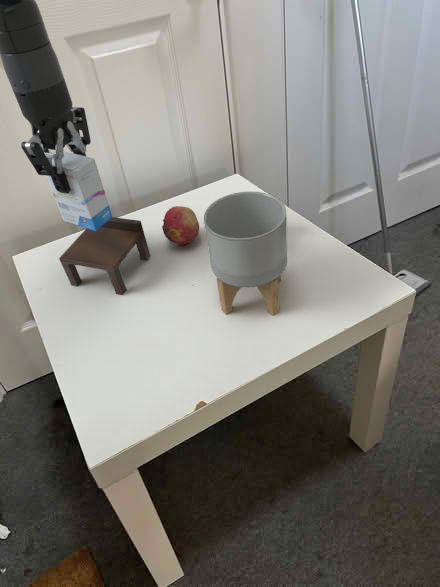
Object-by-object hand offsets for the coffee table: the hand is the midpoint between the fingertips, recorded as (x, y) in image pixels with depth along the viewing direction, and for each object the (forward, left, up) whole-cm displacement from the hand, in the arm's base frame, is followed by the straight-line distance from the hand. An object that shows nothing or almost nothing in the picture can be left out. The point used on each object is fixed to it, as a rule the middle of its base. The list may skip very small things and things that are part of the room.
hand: (75, 182), depth 78 cm
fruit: (+13, -11, -21) cm, 27 cm away
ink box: (0, 0, -8) cm, 8 cm away
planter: (+1, -30, -21) cm, 37 cm away
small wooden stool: (+1, 0, -21) cm, 21 cm away
